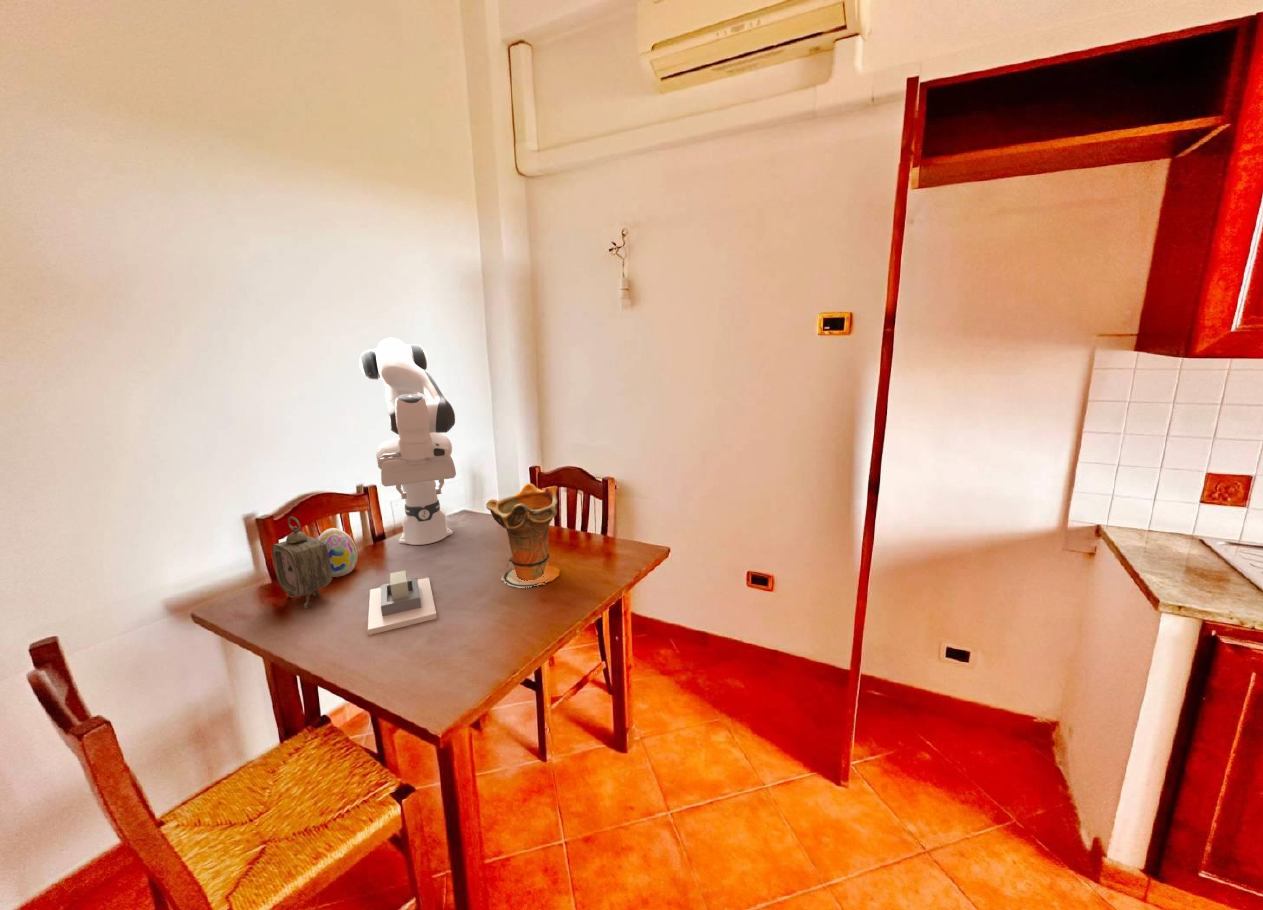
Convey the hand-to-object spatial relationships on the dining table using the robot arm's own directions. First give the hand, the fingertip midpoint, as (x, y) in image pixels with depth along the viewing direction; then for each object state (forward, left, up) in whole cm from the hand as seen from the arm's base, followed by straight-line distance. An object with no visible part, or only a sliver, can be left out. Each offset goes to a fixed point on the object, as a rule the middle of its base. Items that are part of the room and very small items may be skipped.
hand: (421, 496), depth 148 cm
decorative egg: (-21, -27, -27) cm, 44 cm away
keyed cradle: (+13, -9, -27) cm, 31 cm away
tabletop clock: (-5, -33, -27) cm, 43 cm away
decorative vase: (+12, +28, -27) cm, 41 cm away
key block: (+13, -9, -26) cm, 30 cm away
